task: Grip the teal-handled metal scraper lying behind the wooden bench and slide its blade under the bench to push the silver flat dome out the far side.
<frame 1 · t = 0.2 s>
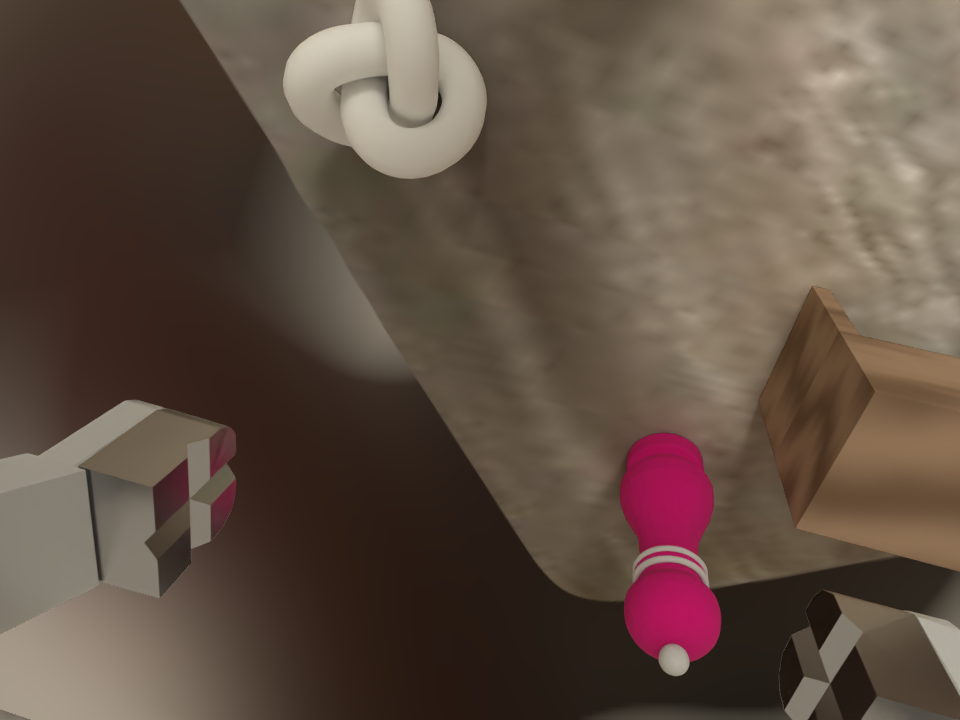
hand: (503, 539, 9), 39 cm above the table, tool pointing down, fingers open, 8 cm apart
pepper mill: (664, 460, 54), on the table
white knot: (403, 79, 44), on the table
wooden bench: (924, 379, 46), on the table
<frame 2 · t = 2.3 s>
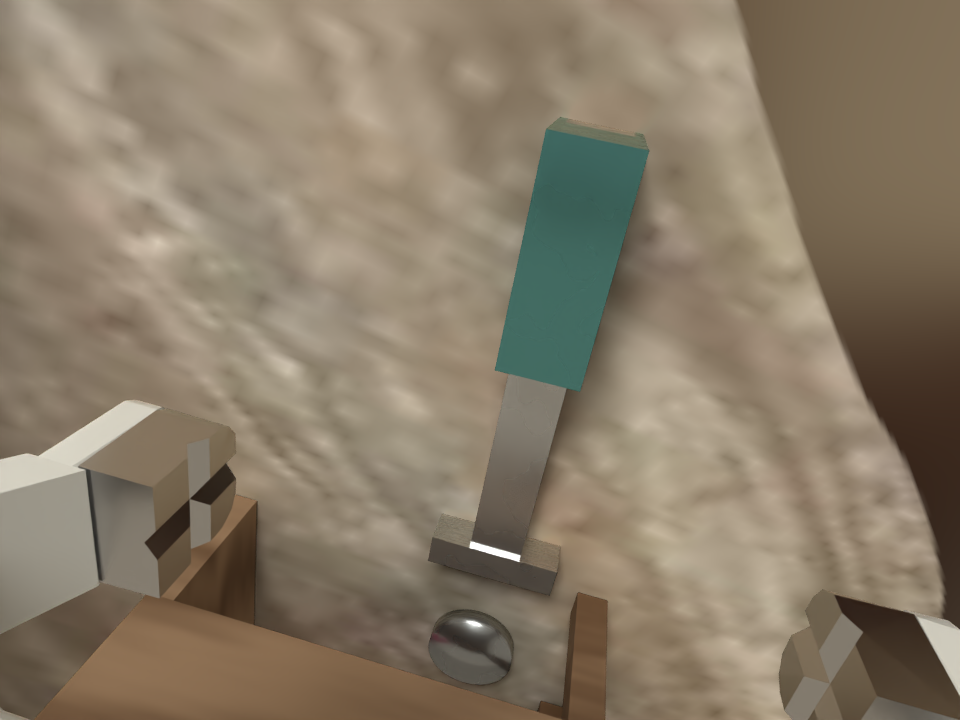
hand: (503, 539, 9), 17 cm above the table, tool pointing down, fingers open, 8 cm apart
silver flat dome: (473, 636, 35), on the table
scraper: (540, 369, 27), on the table
wooden bench: (404, 614, 35), on the table
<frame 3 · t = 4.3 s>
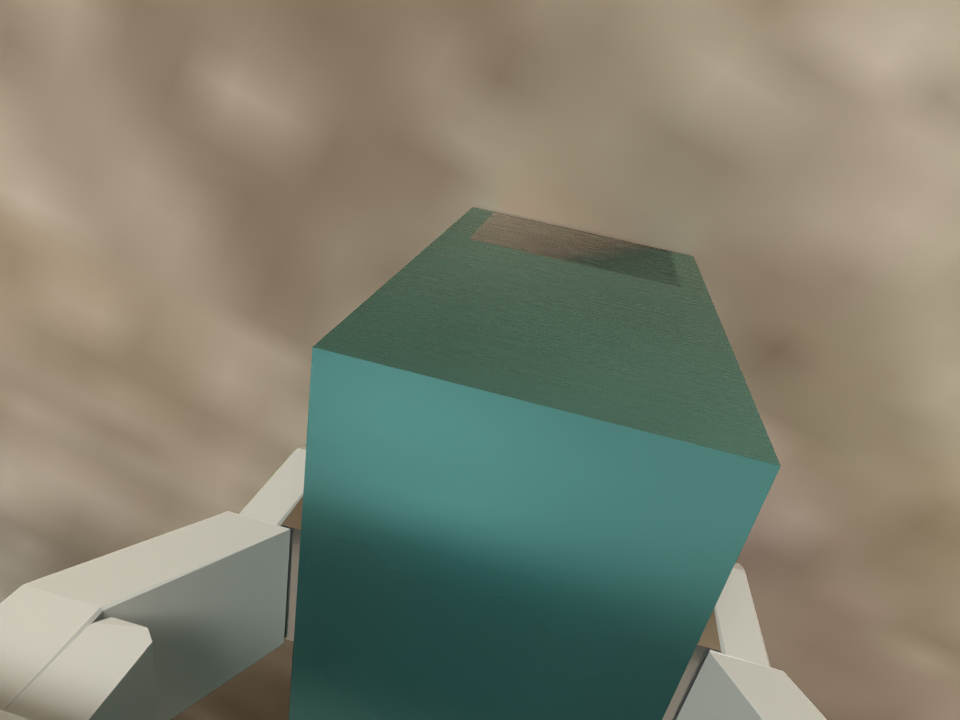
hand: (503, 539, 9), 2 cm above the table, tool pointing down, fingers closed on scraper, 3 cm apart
scraper: (461, 712, 13), on the table, touching gripper
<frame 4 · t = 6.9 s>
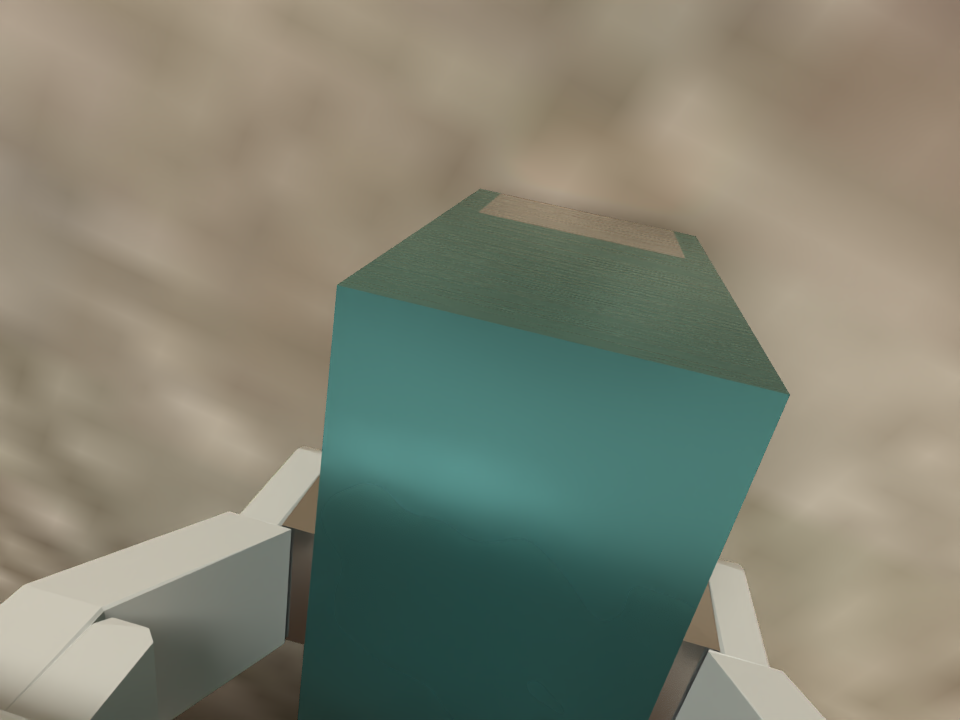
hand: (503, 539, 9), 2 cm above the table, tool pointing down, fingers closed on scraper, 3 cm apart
scraper: (463, 703, 13), on the table, touching gripper
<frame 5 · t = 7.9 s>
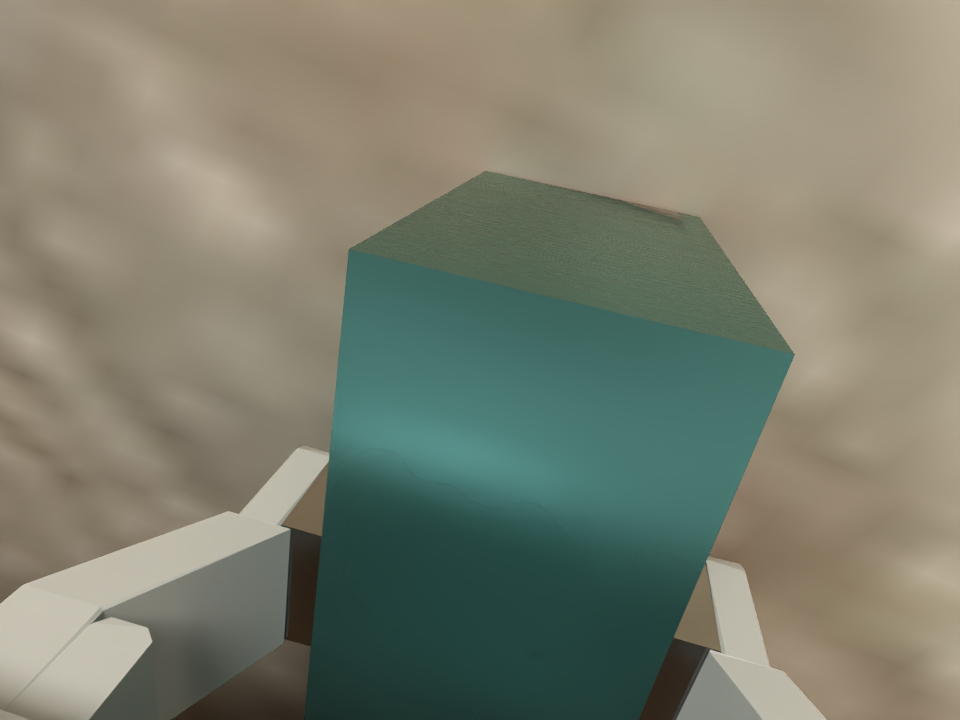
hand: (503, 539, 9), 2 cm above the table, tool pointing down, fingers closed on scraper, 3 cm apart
scraper: (467, 686, 13), on the table, touching gripper
when the fingers open (2 cm above the table, at t = 9.0 s): scraper stays where it is, on the table.
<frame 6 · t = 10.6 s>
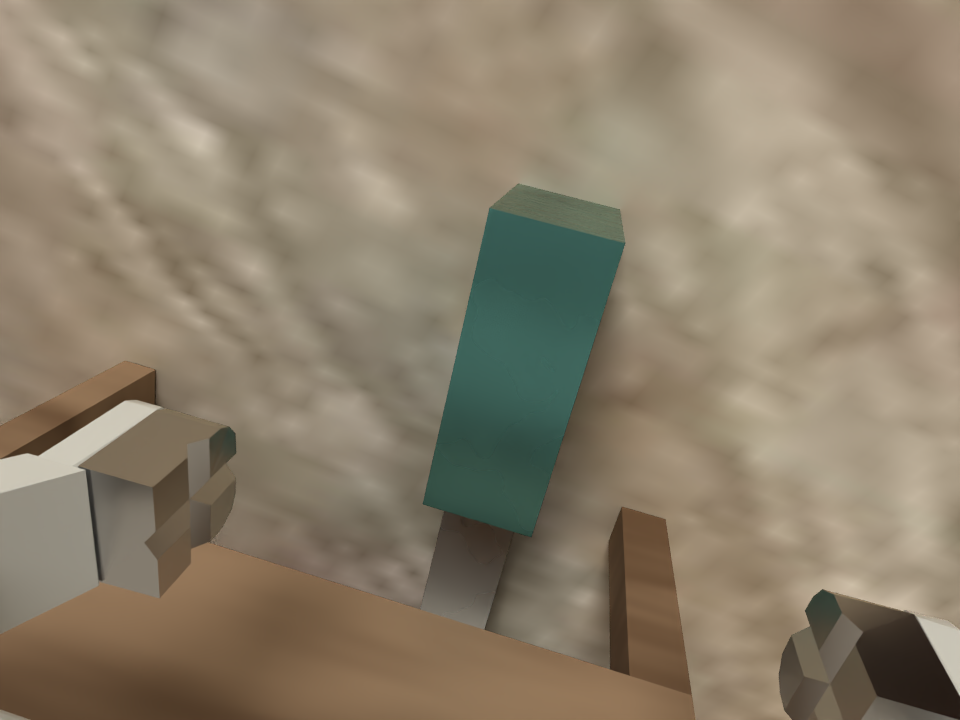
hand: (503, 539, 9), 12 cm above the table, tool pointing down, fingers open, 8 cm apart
scraper: (490, 480, 22), on the table
wooden bench: (364, 547, 24), on the table
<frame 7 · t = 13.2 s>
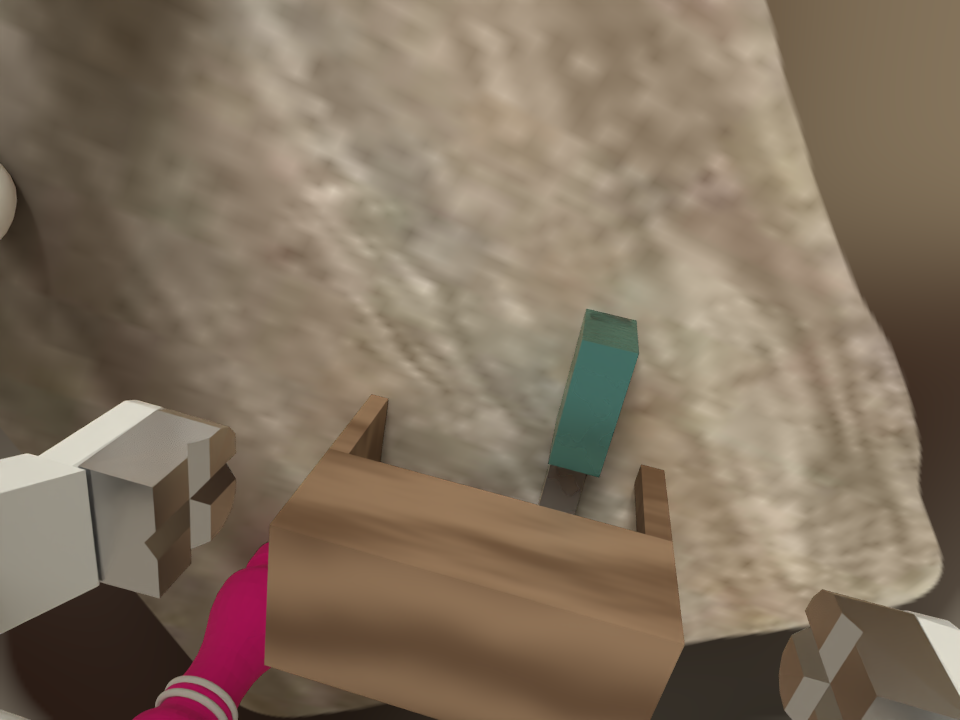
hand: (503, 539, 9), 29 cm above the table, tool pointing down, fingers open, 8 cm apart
pepper mill: (292, 568, 51), on the table
scraper: (571, 452, 42), on the table
wooden bench: (500, 491, 44), on the table
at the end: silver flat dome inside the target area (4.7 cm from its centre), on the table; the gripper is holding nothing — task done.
